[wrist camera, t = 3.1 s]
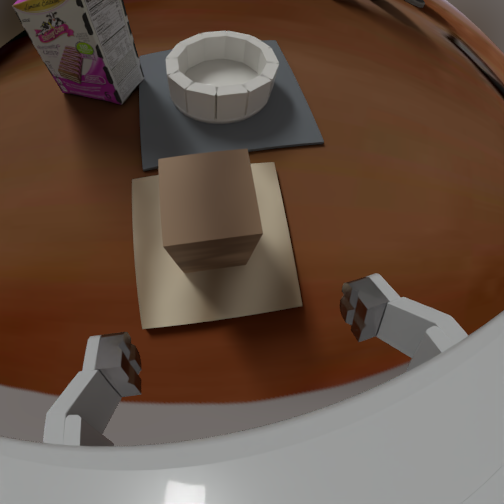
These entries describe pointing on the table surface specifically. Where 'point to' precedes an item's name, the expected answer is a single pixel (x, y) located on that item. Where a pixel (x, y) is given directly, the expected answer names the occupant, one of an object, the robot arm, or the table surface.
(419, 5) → the webcam
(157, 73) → the mat
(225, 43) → the bowl
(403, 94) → the table surface
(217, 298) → the lid
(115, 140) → the table surface
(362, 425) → the robot arm
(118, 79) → the candy bar box
